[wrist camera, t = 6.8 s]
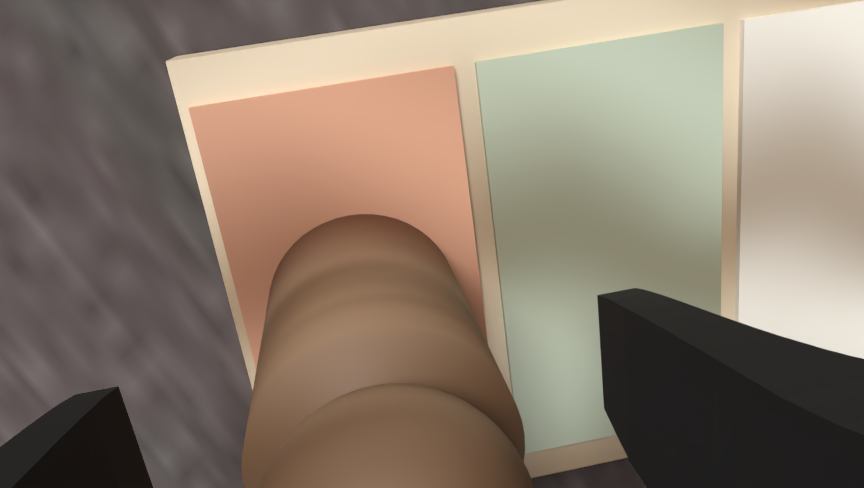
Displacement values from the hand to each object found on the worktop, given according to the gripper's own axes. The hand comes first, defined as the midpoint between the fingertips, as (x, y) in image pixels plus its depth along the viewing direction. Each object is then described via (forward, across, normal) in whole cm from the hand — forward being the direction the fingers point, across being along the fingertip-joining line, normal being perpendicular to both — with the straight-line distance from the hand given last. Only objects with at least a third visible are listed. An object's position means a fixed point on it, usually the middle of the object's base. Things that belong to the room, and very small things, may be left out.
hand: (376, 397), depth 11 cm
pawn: (+3, 0, 0) cm, 3 cm away
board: (+4, -5, 0) cm, 7 cm away
